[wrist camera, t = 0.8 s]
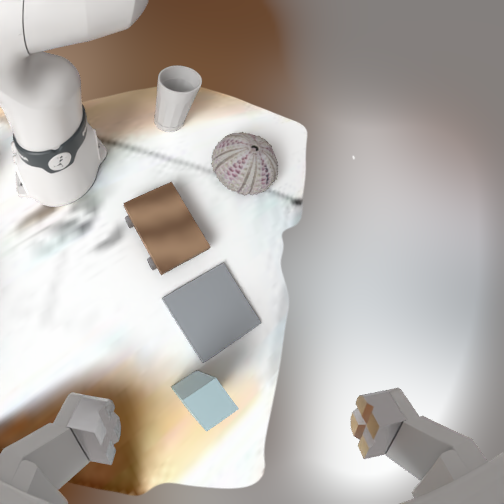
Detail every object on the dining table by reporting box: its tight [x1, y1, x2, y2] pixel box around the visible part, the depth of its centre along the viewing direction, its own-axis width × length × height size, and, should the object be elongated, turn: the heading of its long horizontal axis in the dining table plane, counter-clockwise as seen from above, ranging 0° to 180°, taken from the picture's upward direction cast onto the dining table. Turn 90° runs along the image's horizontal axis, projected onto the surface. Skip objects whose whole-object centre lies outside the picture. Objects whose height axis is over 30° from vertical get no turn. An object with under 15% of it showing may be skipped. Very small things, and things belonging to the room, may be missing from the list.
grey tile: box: [162, 263, 261, 363], centre depth 48 cm, size 12×12×1 cm
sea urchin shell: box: [211, 132, 278, 195], centre depth 56 cm, size 13×14×8 cm
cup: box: [154, 66, 202, 132], centre depth 51 cm, size 8×8×12 cm
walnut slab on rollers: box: [124, 182, 210, 275], centre depth 48 cm, size 13×10×3 cm
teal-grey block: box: [171, 371, 238, 431], centre depth 38 cm, size 5×5×12 cm
